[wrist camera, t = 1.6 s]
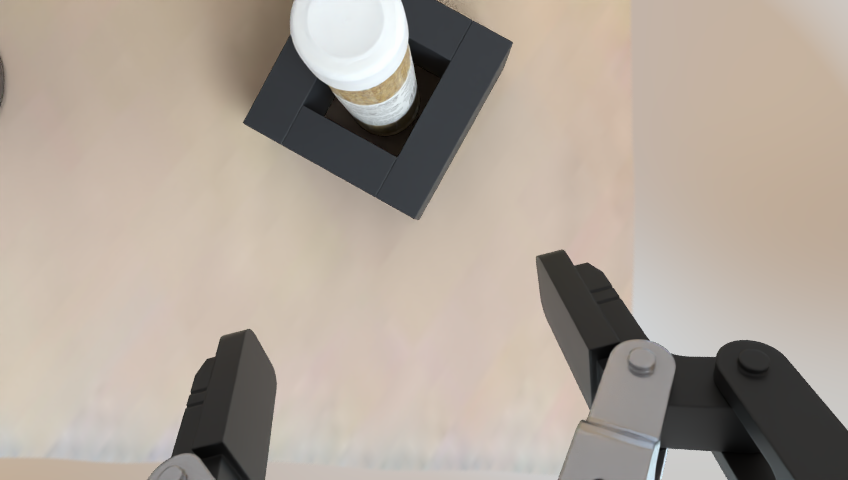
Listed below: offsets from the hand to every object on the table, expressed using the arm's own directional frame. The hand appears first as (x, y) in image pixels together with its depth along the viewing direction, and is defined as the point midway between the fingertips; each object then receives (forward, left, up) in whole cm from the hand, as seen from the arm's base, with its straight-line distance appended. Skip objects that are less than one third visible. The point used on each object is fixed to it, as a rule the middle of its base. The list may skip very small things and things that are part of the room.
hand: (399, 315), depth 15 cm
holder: (-7, +8, -19) cm, 22 cm away
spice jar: (-7, +8, -19) cm, 22 cm away
